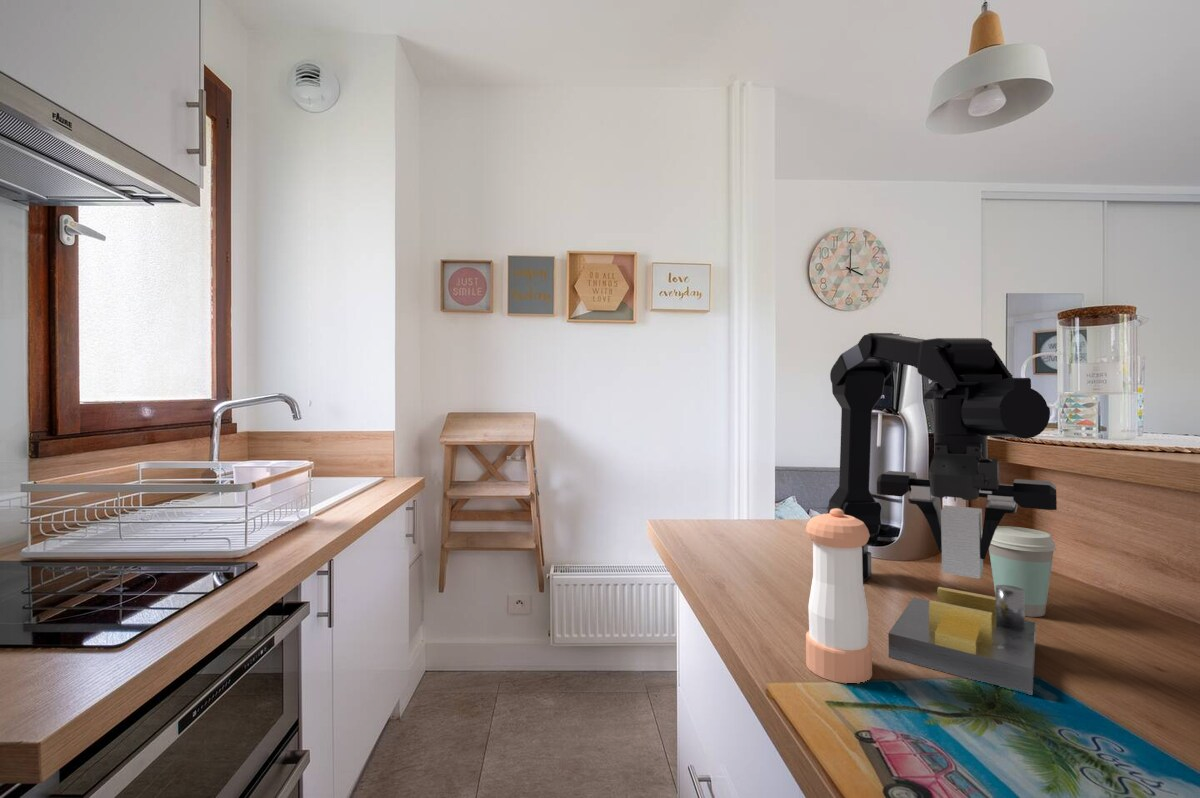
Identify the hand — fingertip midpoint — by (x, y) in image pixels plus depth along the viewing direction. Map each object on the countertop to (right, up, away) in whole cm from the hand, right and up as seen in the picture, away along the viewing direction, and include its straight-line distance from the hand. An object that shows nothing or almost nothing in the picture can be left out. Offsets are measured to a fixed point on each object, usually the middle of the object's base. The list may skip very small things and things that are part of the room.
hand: (962, 555), depth 68 cm
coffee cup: (+18, -13, +13) cm, 26 cm away
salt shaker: (-18, -12, -5) cm, 22 cm away
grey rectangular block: (0, -2, 0) cm, 2 cm away
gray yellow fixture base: (0, -12, 0) cm, 12 cm away
